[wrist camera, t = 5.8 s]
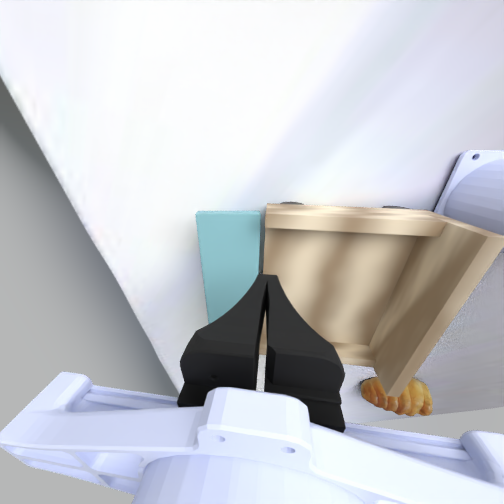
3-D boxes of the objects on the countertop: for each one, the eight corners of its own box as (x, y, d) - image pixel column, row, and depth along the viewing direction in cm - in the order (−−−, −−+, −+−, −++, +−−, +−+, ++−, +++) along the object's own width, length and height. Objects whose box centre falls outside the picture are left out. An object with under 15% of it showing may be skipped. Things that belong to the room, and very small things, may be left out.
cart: (417, 207, 19) (509, 238, 11) (364, 332, 27) (399, 397, 19) (267, 201, 20) (263, 225, 13) (260, 321, 28) (256, 379, 21)
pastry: (355, 393, 34) (364, 419, 30) (361, 370, 31) (372, 396, 27) (412, 397, 32) (429, 424, 29) (424, 373, 30) (444, 401, 26)
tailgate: (260, 214, 17) (195, 214, 17) (255, 337, 25) (210, 339, 24) (258, 209, 19) (199, 209, 18) (254, 326, 27) (212, 328, 26)
